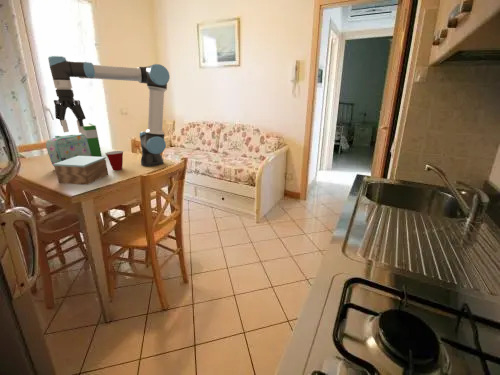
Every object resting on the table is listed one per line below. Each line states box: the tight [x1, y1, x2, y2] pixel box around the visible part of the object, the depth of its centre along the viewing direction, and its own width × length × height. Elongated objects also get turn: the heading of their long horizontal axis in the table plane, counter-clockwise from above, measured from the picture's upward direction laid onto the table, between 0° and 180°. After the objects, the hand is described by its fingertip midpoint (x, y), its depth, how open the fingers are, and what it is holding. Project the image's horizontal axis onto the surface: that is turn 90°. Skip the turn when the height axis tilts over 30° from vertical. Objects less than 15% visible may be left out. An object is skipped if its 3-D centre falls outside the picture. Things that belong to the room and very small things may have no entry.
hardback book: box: [80, 122, 103, 157], centre depth 204 cm, size 18×7×24 cm, turn 43°
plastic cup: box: [104, 150, 124, 171], centre depth 170 cm, size 11×11×12 cm
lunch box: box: [45, 133, 91, 166], centre depth 177 cm, size 27×10×21 cm, turn 168°
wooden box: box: [53, 159, 109, 186], centre depth 152 cm, size 18×18×10 cm
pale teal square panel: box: [52, 156, 107, 167], centre depth 150 cm, size 19×18×1 cm
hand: (74, 132), depth 144 cm, fingers open, 9 cm apart
